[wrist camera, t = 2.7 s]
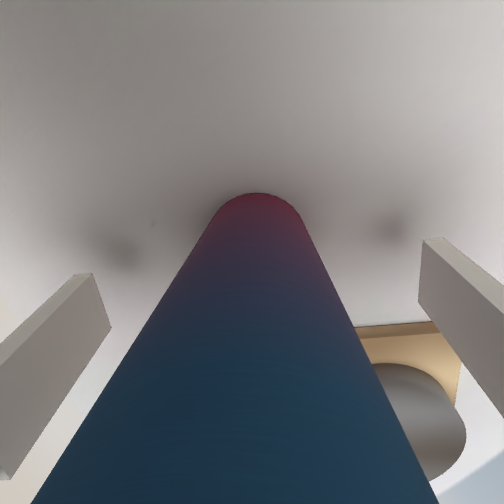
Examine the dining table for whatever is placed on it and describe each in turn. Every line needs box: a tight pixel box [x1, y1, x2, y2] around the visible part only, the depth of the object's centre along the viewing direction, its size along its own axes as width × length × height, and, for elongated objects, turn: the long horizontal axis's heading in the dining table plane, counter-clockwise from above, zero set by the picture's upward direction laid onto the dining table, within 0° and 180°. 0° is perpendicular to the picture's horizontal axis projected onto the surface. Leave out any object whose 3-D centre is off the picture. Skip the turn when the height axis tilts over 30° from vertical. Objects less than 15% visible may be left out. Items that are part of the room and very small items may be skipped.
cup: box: [31, 193, 439, 504], centre depth 11 cm, size 7×7×15 cm
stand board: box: [354, 322, 466, 482], centre depth 21 cm, size 12×18×3 cm, turn 97°
